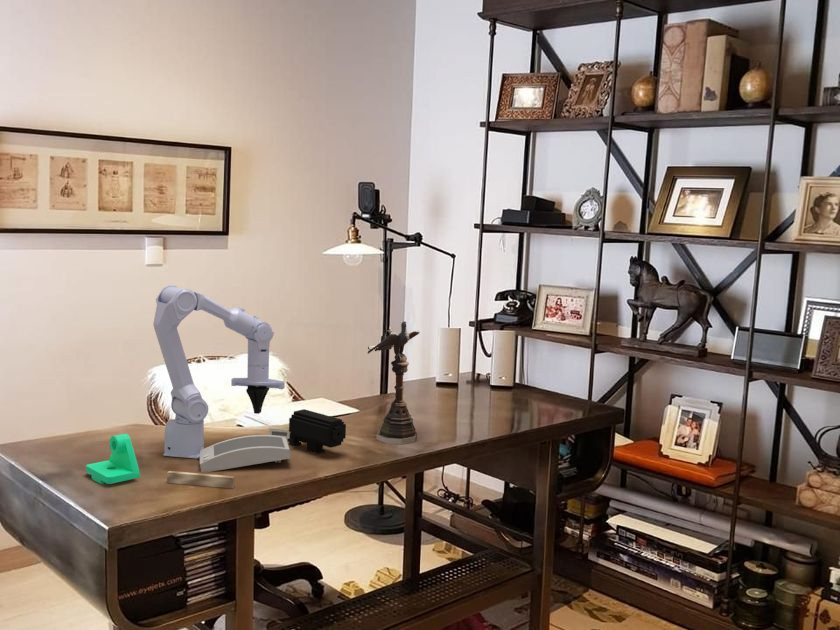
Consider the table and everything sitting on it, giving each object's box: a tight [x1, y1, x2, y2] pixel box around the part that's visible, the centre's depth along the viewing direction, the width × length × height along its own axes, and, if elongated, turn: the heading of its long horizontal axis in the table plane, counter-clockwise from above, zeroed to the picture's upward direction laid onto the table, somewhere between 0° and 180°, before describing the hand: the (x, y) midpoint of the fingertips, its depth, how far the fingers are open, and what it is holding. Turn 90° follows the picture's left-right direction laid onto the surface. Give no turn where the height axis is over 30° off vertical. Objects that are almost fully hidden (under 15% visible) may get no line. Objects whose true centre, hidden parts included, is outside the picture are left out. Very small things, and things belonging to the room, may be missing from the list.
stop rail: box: [166, 470, 236, 489], centre depth 197 cm, size 16×1×2 cm, turn 82°
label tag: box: [268, 427, 291, 440], centre depth 235 cm, size 6×1×4 cm, turn 83°
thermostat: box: [199, 434, 292, 473], centre depth 215 cm, size 11×22×6 cm, turn 104°
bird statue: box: [367, 321, 421, 446], centre depth 242 cm, size 17×13×35 cm
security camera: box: [287, 408, 347, 455], centre depth 227 cm, size 7×18×10 cm, turn 51°
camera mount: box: [85, 433, 140, 485], centre depth 199 cm, size 12×8×10 cm, turn 47°
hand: (257, 412), depth 232 cm, fingers closed
